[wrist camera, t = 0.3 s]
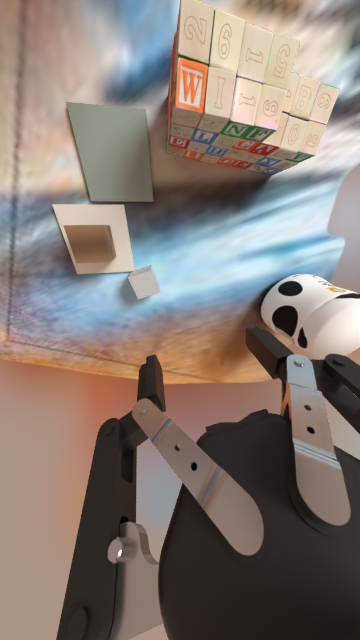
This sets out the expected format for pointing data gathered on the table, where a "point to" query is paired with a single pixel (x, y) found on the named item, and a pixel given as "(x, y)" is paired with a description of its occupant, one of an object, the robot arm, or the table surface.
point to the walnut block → (91, 243)
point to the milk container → (314, 315)
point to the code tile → (99, 216)
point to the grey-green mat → (113, 151)
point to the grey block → (144, 282)
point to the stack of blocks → (241, 94)
